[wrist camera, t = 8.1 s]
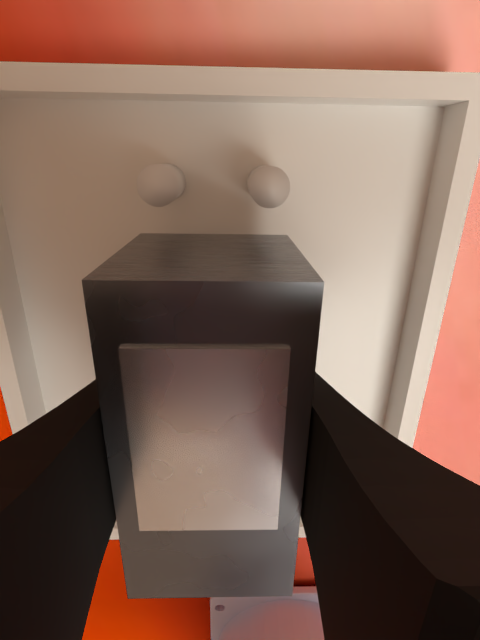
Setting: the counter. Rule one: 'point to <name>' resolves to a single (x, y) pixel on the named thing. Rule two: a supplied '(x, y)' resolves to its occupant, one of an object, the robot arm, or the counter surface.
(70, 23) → the counter surface
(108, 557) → the counter surface
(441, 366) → the counter surface
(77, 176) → the tray
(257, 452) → the block
